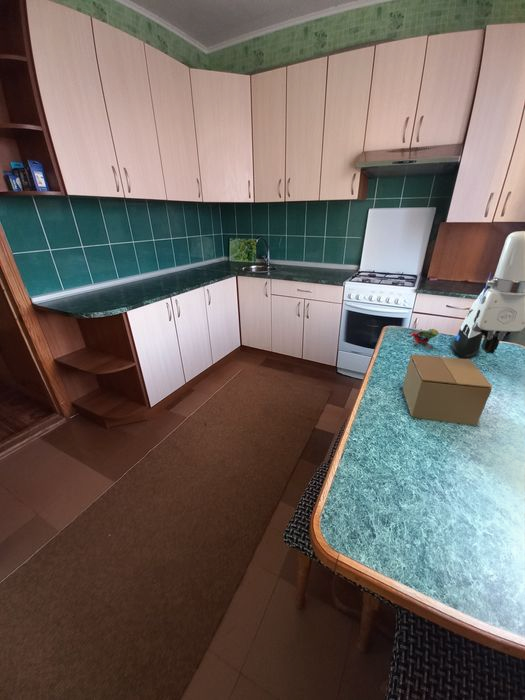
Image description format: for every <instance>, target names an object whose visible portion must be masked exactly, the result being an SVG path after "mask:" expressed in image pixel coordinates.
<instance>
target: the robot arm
mask: <svg viewBox="0 0 525 700" xmlns="http://www.w3.org/2000/svg"><path fill="white" fill-rule="evenodd" d="M486 286H487V287H489V288H486V292H485V294H484V296H483V298H482V300H481V302H480V304H479V306H478V308H477V311H476V314H475V317H474V324H473V326H472V330H473V331H476V332H480V333H482V334H483V339H482V340H483V341H482V342H481V349H482V350H483V352H484V353H485V354H491V355H493V354H494V353H495V352H496V350H497V349H498V346H499V343H500V341H502V340H504V338H505V337H507V336H509V335H513V334H519V333H520V332H521V331H523V330H524V329H525V230H522V231H521V230H520V231H519V230H518V231H513V232H511V233H510V234H508V235H507V237H506V238H505V241H504V245H503V247H502V250H501V254H500V257H499V261H498V263H497V267H496V270H495V272H494V276H493V277H492V278H491V279H489V280H488V279H487V280H486V282H485V287H486Z"/></svg>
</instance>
